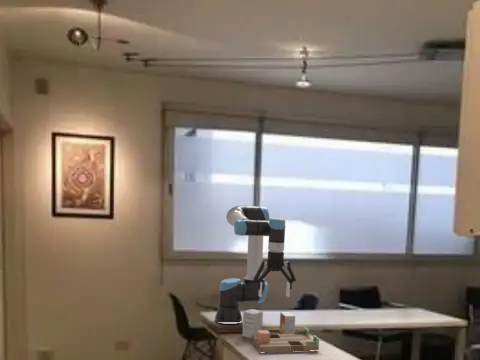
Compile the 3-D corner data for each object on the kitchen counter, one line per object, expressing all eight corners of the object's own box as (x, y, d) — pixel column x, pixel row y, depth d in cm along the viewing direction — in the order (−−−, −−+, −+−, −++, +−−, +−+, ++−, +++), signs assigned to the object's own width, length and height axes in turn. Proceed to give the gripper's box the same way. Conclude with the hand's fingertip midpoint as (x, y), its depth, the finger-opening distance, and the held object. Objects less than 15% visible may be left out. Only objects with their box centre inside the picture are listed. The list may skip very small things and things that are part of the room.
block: (257, 338, 236) (257, 330, 236) (267, 338, 237) (267, 330, 237) (259, 341, 231) (259, 333, 231) (269, 341, 232) (270, 333, 232)
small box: (279, 332, 259) (280, 312, 259) (289, 331, 260) (290, 311, 260) (284, 336, 251) (285, 316, 251) (294, 336, 252) (295, 315, 252)
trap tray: (251, 340, 242) (252, 328, 242) (305, 339, 248) (306, 327, 248) (260, 353, 225) (261, 339, 225) (318, 351, 230) (319, 338, 231)
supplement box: (250, 333, 255) (251, 308, 255) (262, 336, 250) (263, 311, 250) (241, 336, 249) (242, 311, 249) (253, 339, 244) (254, 313, 244)
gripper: (252, 251, 225) (250, 298, 225) (303, 252, 231) (301, 298, 231) (248, 249, 232) (246, 294, 232) (298, 250, 238) (296, 294, 238)
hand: (273, 296), depth 231 cm, fingers open, 13 cm apart
